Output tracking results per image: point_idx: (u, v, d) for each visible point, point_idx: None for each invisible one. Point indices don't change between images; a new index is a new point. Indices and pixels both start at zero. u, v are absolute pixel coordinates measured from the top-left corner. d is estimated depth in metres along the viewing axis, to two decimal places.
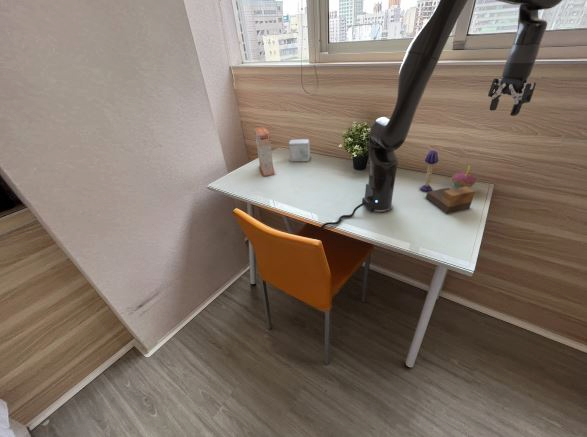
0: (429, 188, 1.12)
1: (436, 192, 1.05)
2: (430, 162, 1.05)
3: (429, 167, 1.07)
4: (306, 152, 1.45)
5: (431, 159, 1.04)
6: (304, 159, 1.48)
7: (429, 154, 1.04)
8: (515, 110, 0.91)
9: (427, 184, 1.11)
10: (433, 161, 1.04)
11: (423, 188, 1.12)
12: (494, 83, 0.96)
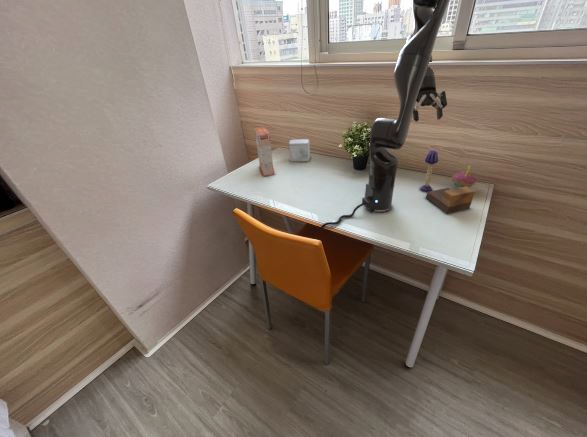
0: (429, 188, 1.12)
1: (436, 192, 1.05)
2: (430, 162, 1.05)
3: (429, 167, 1.07)
4: (306, 152, 1.45)
5: (431, 159, 1.04)
6: (304, 159, 1.48)
7: (429, 154, 1.04)
8: (441, 113, 1.06)
9: (427, 184, 1.11)
10: (433, 161, 1.04)
11: (423, 188, 1.12)
12: None
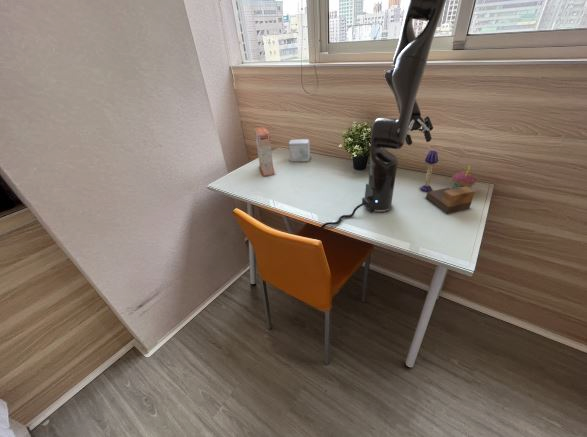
0: (429, 188, 1.12)
1: (436, 192, 1.05)
2: (430, 162, 1.05)
3: (429, 167, 1.07)
4: (306, 152, 1.45)
5: (431, 159, 1.04)
6: (304, 159, 1.48)
7: (429, 154, 1.04)
8: (430, 135, 1.11)
9: (427, 184, 1.11)
10: (433, 161, 1.04)
11: (423, 188, 1.12)
12: None
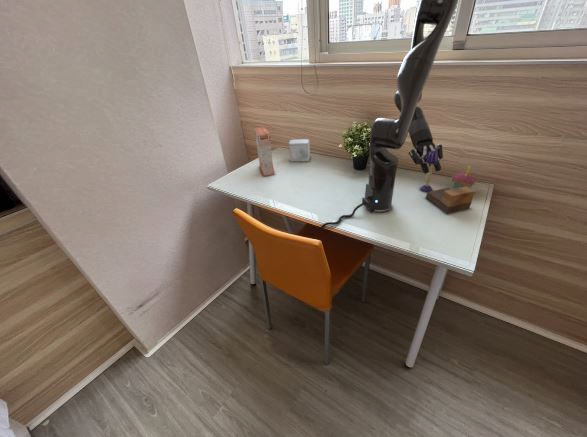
0: (429, 188, 1.12)
1: (436, 192, 1.05)
2: (430, 162, 1.05)
3: (429, 167, 1.07)
4: (306, 152, 1.45)
5: (431, 159, 1.04)
6: (304, 159, 1.48)
7: (429, 154, 1.04)
8: (439, 165, 1.07)
9: (427, 184, 1.11)
10: (433, 161, 1.04)
11: (423, 188, 1.12)
12: (415, 152, 1.06)
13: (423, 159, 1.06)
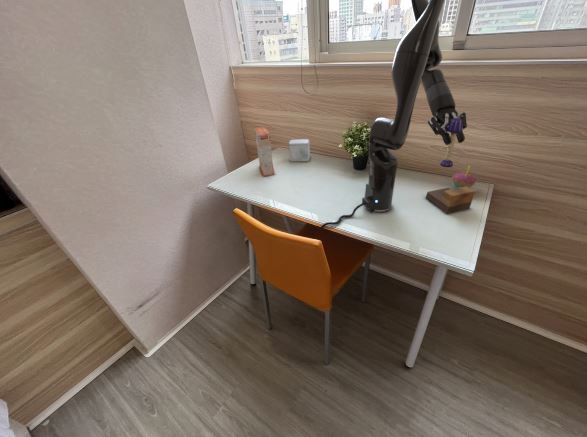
0: (450, 163, 0.99)
1: (436, 192, 1.05)
2: (453, 131, 0.92)
3: (451, 138, 0.94)
4: (306, 152, 1.45)
5: (455, 127, 0.91)
6: (304, 159, 1.48)
7: (452, 122, 0.91)
8: (463, 135, 0.94)
9: (448, 158, 0.98)
10: (456, 130, 0.91)
11: (443, 163, 0.99)
12: (435, 120, 0.93)
13: (445, 128, 0.93)
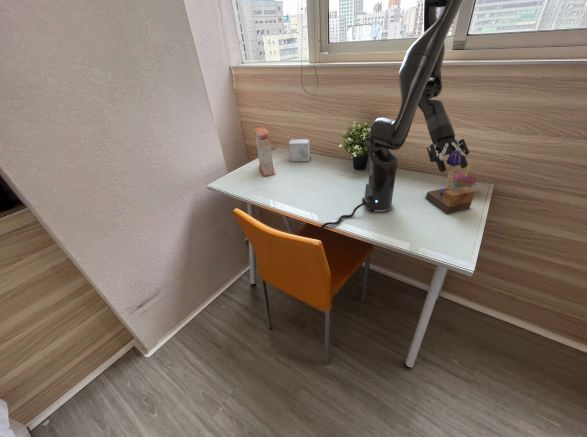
0: None
1: (436, 192, 1.05)
2: (453, 164, 0.95)
3: (451, 169, 0.98)
4: (306, 152, 1.45)
5: (454, 160, 0.95)
6: (304, 159, 1.48)
7: (452, 155, 0.95)
8: (465, 161, 0.98)
9: (448, 188, 1.02)
10: (456, 163, 0.95)
11: (443, 192, 1.03)
12: (434, 147, 0.97)
13: (440, 156, 0.96)
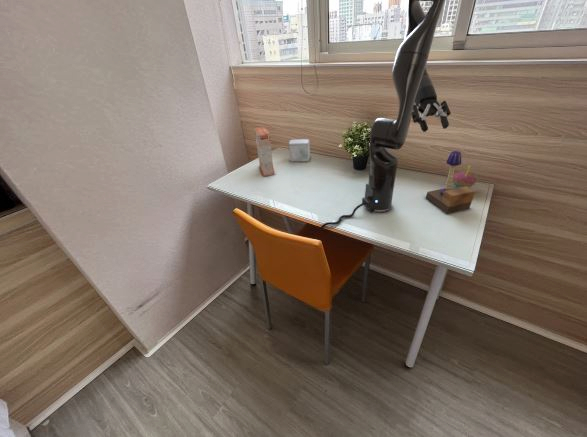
0: None
1: (436, 192, 1.05)
2: (453, 164, 0.95)
3: (451, 169, 0.98)
4: (306, 152, 1.45)
5: (454, 160, 0.95)
6: (304, 159, 1.48)
7: (452, 155, 0.95)
8: (447, 121, 1.02)
9: (448, 188, 1.02)
10: (456, 163, 0.95)
11: (443, 192, 1.03)
12: (416, 108, 1.01)
13: (423, 116, 1.01)
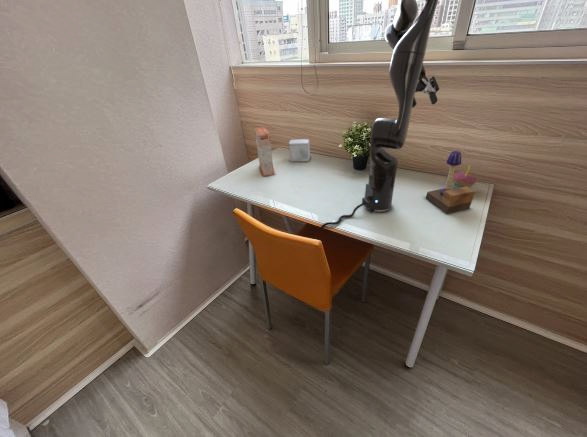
0: None
1: (436, 192, 1.05)
2: (453, 164, 0.95)
3: (451, 169, 0.98)
4: (306, 152, 1.45)
5: (454, 160, 0.95)
6: (304, 159, 1.48)
7: (452, 155, 0.95)
8: (435, 97, 1.01)
9: (448, 188, 1.02)
10: (456, 163, 0.95)
11: (443, 192, 1.03)
12: None
13: None
